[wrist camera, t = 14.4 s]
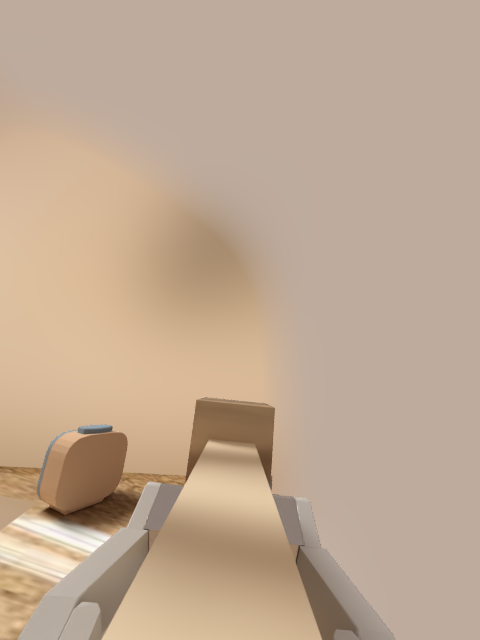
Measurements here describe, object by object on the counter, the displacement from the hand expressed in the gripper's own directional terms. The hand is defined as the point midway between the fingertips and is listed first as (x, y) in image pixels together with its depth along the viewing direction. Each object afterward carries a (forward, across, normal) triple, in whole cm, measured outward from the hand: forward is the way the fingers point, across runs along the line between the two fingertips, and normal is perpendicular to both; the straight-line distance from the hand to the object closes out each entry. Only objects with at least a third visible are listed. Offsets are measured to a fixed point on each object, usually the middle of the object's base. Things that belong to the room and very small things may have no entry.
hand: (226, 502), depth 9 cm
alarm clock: (+50, -44, -68) cm, 95 cm away
